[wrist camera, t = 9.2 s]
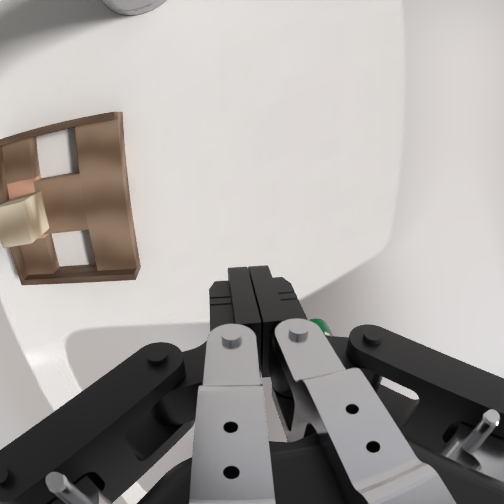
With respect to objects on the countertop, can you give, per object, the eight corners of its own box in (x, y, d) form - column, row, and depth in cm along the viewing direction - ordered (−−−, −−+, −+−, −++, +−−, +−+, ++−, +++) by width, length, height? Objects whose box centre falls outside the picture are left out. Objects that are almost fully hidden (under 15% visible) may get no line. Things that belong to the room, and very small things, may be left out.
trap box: (5, 139, 30) (-10, 142, 27) (122, 112, 32) (113, 111, 29) (32, 273, 38) (21, 285, 35) (140, 266, 40) (135, 279, 37)
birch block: (12, 197, 31) (-8, 209, 27) (41, 190, 32) (21, 202, 27) (21, 233, 34) (3, 248, 29) (49, 228, 34) (31, 243, 30)
